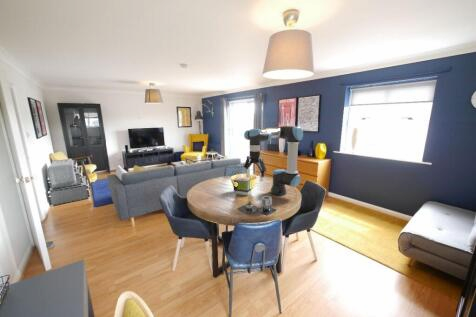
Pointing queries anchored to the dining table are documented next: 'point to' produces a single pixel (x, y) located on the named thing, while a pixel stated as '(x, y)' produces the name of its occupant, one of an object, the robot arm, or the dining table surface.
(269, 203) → the ring
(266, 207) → the stand
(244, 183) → the tea box
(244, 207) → the hub
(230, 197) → the dining table surface
